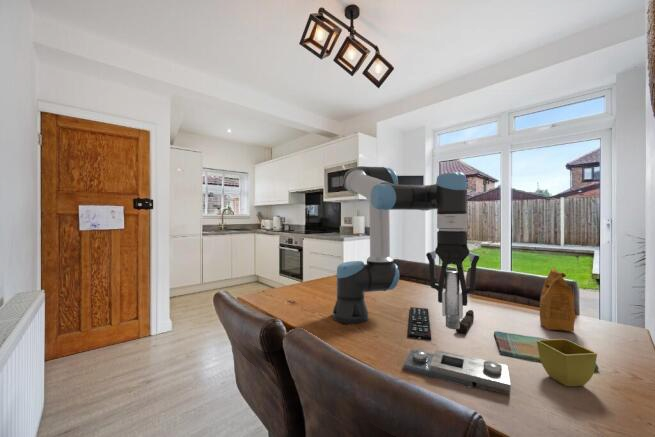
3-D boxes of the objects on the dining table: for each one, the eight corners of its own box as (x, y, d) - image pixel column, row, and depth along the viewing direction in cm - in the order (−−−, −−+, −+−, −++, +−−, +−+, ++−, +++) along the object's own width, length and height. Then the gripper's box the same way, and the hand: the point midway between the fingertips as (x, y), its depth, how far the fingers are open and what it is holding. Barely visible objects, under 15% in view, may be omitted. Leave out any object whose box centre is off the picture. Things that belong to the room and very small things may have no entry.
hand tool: (466, 336, 100) (466, 323, 100) (455, 333, 102) (455, 320, 102) (479, 321, 114) (479, 310, 114) (468, 319, 116) (469, 308, 116)
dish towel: (600, 375, 76) (600, 365, 76) (500, 357, 85) (500, 349, 85) (575, 348, 91) (575, 340, 91) (493, 335, 101) (493, 328, 101)
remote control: (408, 339, 98) (408, 333, 98) (410, 310, 129) (410, 306, 129) (431, 342, 96) (431, 336, 96) (428, 312, 126) (428, 307, 126)
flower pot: (535, 372, 76) (535, 339, 76) (565, 370, 77) (565, 338, 77) (565, 392, 67) (565, 355, 67) (598, 390, 68) (598, 353, 68)
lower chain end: (403, 369, 78) (403, 357, 78) (411, 354, 86) (411, 342, 86) (472, 387, 69) (472, 373, 69) (473, 368, 78) (473, 356, 78)
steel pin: (445, 327, 75) (444, 272, 75) (446, 323, 78) (446, 270, 78) (459, 330, 73) (458, 273, 73) (460, 325, 76) (459, 271, 77)
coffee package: (568, 323, 111) (567, 268, 111) (578, 335, 100) (577, 274, 100) (537, 319, 115) (536, 266, 115) (543, 330, 104) (543, 271, 104)
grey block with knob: (429, 376, 74) (429, 359, 74) (435, 359, 83) (435, 344, 83) (510, 397, 65) (510, 378, 65) (507, 376, 74) (507, 359, 74)
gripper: (417, 230, 77) (418, 315, 77) (486, 230, 69) (487, 325, 68) (423, 229, 83) (423, 307, 83) (486, 229, 75) (487, 316, 75)
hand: (452, 315), depth 76 cm, fingers closed on steel pin, 3 cm apart
